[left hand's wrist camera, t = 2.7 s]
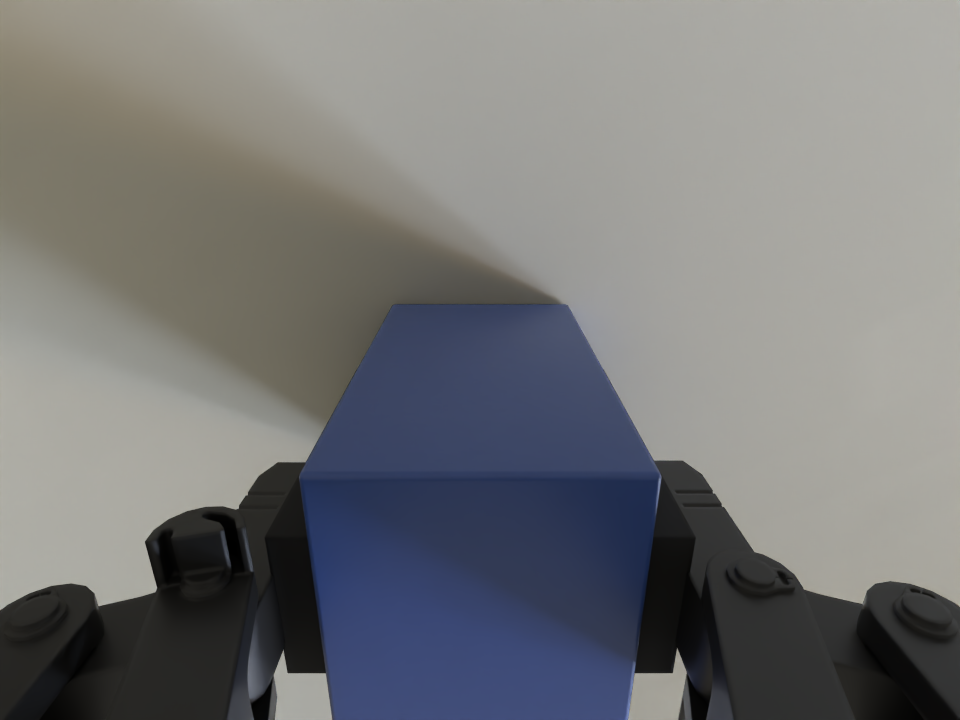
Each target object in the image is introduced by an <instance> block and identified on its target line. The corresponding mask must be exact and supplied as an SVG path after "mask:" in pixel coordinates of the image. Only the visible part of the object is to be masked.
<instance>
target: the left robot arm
mask: <svg viewBox="0 0 960 720" xmlns="http://www.w3.org/2000/svg"><path fill="white" fill-rule="evenodd" d="M356 371H357V370H356ZM604 372H605V371H604ZM355 373H356V372H355ZM605 374H606V373H605ZM354 375H355V374H354ZM606 376H607V375H606ZM352 378H353V377H352ZM351 380H352V379H351ZM609 381H610V380H609ZM350 382H351V381H350ZM610 383H611V382H610ZM349 384H350V383H349ZM611 385H612V384H611ZM612 387H613V386H612ZM346 389H347V388H346ZM345 391H346V390H345ZM615 392H616V391H615ZM344 393H345V392H344ZM616 394H617V393H616ZM343 395H344V394H343ZM617 396H618V395H617ZM341 398H342V397H341ZM340 400H341V399H340ZM620 401H621V400H620ZM339 402H340V401H339ZM621 403H622V402H621ZM338 404H339V403H338ZM622 405H623V404H622ZM335 409H336V408H335ZM625 410H626V409H625ZM334 411H335V410H334ZM626 412H627V411H626ZM333 413H334V412H333ZM627 414H628V413H627ZM332 415H333V414H332ZM628 416H629V415H628ZM330 418H331V417H330ZM329 420H330V419H329ZM631 421H632V420H631ZM328 422H329V421H328ZM632 423H633V422H632ZM327 424H328V423H327ZM633 425H634V424H633ZM325 427H326V426H325ZM324 429H325V428H324ZM636 430H637V429H636ZM323 431H324V430H323ZM637 432H638V431H637ZM322 433H323V432H322ZM638 434H639V433H638ZM321 435H322V434H321ZM639 436H640V435H639ZM319 438H320V437H319ZM318 440H319V439H318ZM642 441H643V440H642ZM317 442H318V441H317ZM643 443H644V442H643ZM316 444H317V443H316ZM644 445H645V444H644ZM314 447H315V446H314ZM313 449H314V448H313ZM647 450H648V449H647ZM312 451H313V450H312ZM648 452H649V451H648ZM311 453H312V452H311ZM649 454H650V453H649ZM310 455H311V454H310ZM308 458H309V457H308ZM652 459H653V458H652ZM307 460H308V459H307ZM653 461H654V460H653ZM306 462H307V461H306ZM306 462H278V463H276V464H275V465H274V466H272V467H271V468H270V469H268V470H267V471H265V472H264V473H263V474H261V475H260V476H259V477H258V478H257V480H256V481H255V483H254V484H253V486H252V487H251V489H250V490H249V492H248V495H246V496H245V498H244V499H243V501H242V502H241V504H240V505H239V509H236V510H235V509H231V508H227V507H223V506H222V507H203V508H199V509H195V510H191V511H187V512H184V513H182V514H180V515H178V516H175V517H173V518H171V519H169V520H167V521H166V522H164V523H163V524H162V525H160V526H159V527H157V528H156V529H155V530H154V531H153V532H152V533H151V535H150V536H149V537H148V538H147V540H146V541H145V544H146V548H147V551H148V555H149V559H150V562H151V566H152V570H153V574H154V577H155V581H156V585H157V590H156V592H155V593H152V594H148V595H145V596H142V597H138V598H133V599H129V600H125V601H120V602H116V603H111V604H107V605H103V606H98V604H97V600H96V597H95V594H94V593H93V592H92V591H91V590H90V589H89V588H88V587H86V586H82V585H76V584H64V585H56V586H50V587H47V588H44V589H41V590H38V591H35V592H32V593H29V594H28V595H26V596H24V597H22V598H20V599H18V600H16V601H14V602H12V603H11V604H9V605H7V606H6V607H4V608H3V609H2V610H1V611H0V720H275V711H276V702H277V694H276V686H275V681H274V672H275V670H276V667H277V665H278V662H279V659H280V657H281V654H282V652H283V649H284V654H285V660H286V666H287V672H288V673H326V669H325V662H324V655H323V647H322V640H321V633H320V626H319V618H318V611H317V604H316V597H315V589H314V582H313V575H312V568H311V560H310V553H309V546H308V539H307V531H306V524H305V517H304V510H303V502H302V495H301V488H300V481H299V476H300V473H301V471H302V469H303V467H304V465H305V464H306ZM654 463H655V465H656V466H657V468H658V470H659V472H660V474H661V484H660V492H659V499H658V506H657V513H656V521H655V528H654V535H653V542H652V549H651V557H650V564H649V571H648V578H647V586H646V593H645V600H644V607H643V615H642V622H641V629H640V636H639V644H638V651H637V658H636V665H635V672H634V673H673V668H674V662H675V656H676V651H677V648H678V651H679V653H680V656H681V658H682V661H683V663H684V666H685V668H686V671H687V675H686V681H685V686H684V691H683V697H682V702H681V708H680V713H679V719H678V720H960V607H959V606H958V605H956V604H955V603H953V602H952V601H950V600H948V599H946V598H944V597H942V596H940V595H938V594H936V593H934V592H933V591H930V590H927V589H924V588H921V587H918V586H915V585H912V584H907V583H899V582H892V581H889V582H883V583H877V584H875V585H873V586H872V587H871V588H870V589H869V590H868V591H867V593H866V596H865V599H864V602H863V604H859V603H855V602H850V601H846V600H842V599H837V598H833V597H828V596H824V595H820V594H816V593H813V592H810V591H806V590H804V589H803V587H802V585H801V584H800V582H799V581H798V579H797V578H796V576H795V575H794V574H793V573H792V572H791V571H789V570H788V569H787V568H786V567H784V566H783V565H782V564H781V563H779V562H777V561H775V560H773V559H771V558H769V557H767V556H765V555H763V554H759V553H755V552H754V551H753V549H752V548H751V547H750V545H749V544H748V542H747V541H746V539H745V538H744V536H743V535H742V533H741V532H740V530H739V529H738V527H737V526H736V524H735V523H734V521H733V520H732V518H731V517H730V515H729V514H728V512H727V511H726V509H725V508H724V507H722V504H721V502H720V501H719V499H718V498H717V496H716V495H715V494H713V490H712V489H711V487H710V486H709V484H708V483H707V481H706V480H705V478H704V477H703V475H702V474H701V473H699V472H698V471H696V470H695V469H694V468H692V467H691V466H689V465H688V464H687V463H685V462H684V461H654Z"/></svg>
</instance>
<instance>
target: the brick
mask: <svg viewBox="0 0 960 720" xmlns="http://www.w3.org/2000/svg"><path fill="white" fill-rule="evenodd" d="M299 481H300V488H301V495H302V502H303V510H304V517H305V524H306V531H307V539H308V546H309V553H310V560H311V568H312V575H313V582H314V589H315V597H316V604H317V611H318V618H319V626H320V633H321V640H322V647H323V655H324V662H325V669H326V677H327V684H328V691H329V698H330V706H331V713H332V720H628V716H629V709H630V701H631V694H632V687H633V680H634V672H635V665H636V658H637V651H638V644H639V636H640V629H641V622H642V615H643V607H644V600H645V593H646V586H647V578H648V571H649V564H650V557H651V549H652V542H653V535H654V528H655V521H656V513H657V506H658V499H659V492H660V484H661V474H660V472H659V470H658V468H657V466H656V465H655V463H654V461H653V459H652V457H651V455H650V454H649V452H648V450H647V448H646V446H645V445H644V443H643V441H642V439H641V437H640V436H639V434H638V432H637V430H636V428H635V426H634V425H633V423H632V421H631V419H630V417H629V416H628V414H627V412H626V410H625V408H624V406H623V405H622V403H621V401H620V399H619V397H618V396H617V394H616V392H615V390H614V388H613V387H612V385H611V383H610V381H609V379H608V377H607V376H606V374H605V372H604V370H603V368H602V367H601V365H600V363H599V361H598V359H597V358H596V356H595V354H594V352H593V350H592V348H591V347H590V345H589V343H588V341H587V339H586V338H585V336H584V334H583V332H582V330H581V329H580V327H579V325H578V323H577V321H576V319H575V318H574V316H573V314H572V312H571V310H570V309H569V307H568V305H566V304H395V305H392V307H391V309H390V311H389V313H388V315H387V316H386V318H385V320H384V322H383V324H382V325H381V327H380V329H379V331H378V333H377V335H376V336H375V338H374V340H373V342H372V344H371V345H370V347H369V349H368V351H367V353H366V355H365V356H364V358H363V360H362V362H361V364H360V365H359V367H358V369H357V371H356V373H355V375H354V376H353V378H352V380H351V382H350V384H349V385H348V387H347V389H346V391H345V393H344V395H343V396H342V398H341V400H340V402H339V404H338V405H337V407H336V409H335V411H334V413H333V415H332V416H331V418H330V420H329V422H328V424H327V425H326V427H325V429H324V431H323V433H322V435H321V436H320V438H319V440H318V442H317V444H316V445H315V447H314V449H313V451H312V453H311V455H310V456H309V458H308V460H307V462H306V464H305V465H304V467H303V469H302V471H301V473H300V476H299Z"/></svg>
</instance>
